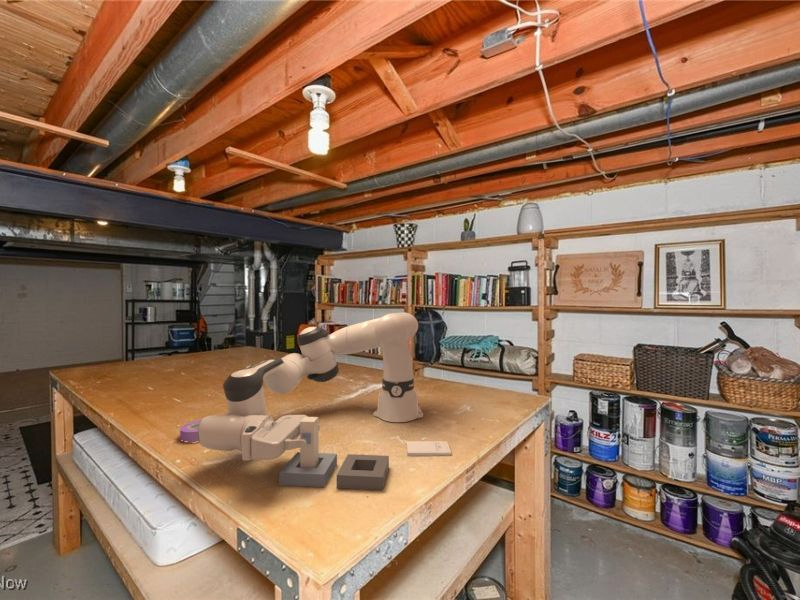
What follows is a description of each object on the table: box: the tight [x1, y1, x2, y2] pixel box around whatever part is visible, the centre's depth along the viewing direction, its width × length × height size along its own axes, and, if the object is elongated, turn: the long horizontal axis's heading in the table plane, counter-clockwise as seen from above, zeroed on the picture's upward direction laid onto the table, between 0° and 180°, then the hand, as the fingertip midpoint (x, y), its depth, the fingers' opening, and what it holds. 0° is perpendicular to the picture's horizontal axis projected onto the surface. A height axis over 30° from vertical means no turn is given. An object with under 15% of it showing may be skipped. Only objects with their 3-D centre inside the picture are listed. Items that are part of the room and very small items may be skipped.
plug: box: [299, 416, 320, 468], centre depth 88 cm, size 4×4×14 cm
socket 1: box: [278, 451, 338, 488], centre depth 89 cm, size 11×11×3 cm
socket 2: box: [336, 453, 390, 491], centre depth 87 cm, size 11×11×3 cm
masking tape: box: [179, 419, 202, 442], centre depth 114 cm, size 12×12×4 cm
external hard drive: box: [406, 440, 452, 457], centre depth 103 cm, size 2×8×12 cm
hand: (312, 435), depth 88 cm, fingers open, 8 cm apart
